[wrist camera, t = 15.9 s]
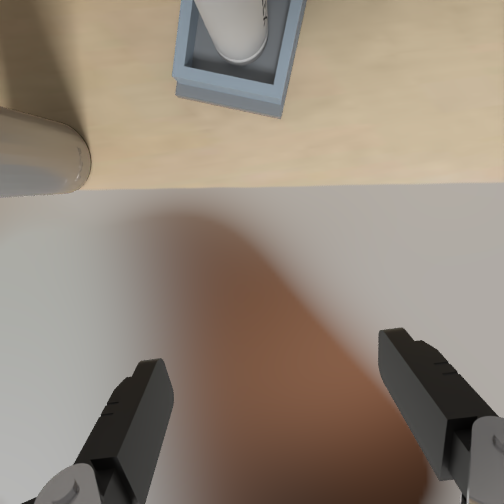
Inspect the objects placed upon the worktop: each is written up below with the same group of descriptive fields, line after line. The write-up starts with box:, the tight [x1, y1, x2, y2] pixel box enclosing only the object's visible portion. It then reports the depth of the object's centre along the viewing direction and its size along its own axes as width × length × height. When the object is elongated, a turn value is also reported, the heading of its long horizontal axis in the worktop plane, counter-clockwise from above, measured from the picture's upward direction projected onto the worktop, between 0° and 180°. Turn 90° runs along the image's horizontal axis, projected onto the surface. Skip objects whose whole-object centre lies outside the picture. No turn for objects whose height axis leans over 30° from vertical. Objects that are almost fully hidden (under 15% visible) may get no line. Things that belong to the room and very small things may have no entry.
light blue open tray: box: [172, 0, 307, 119], centre depth 32 cm, size 13×15×4 cm
